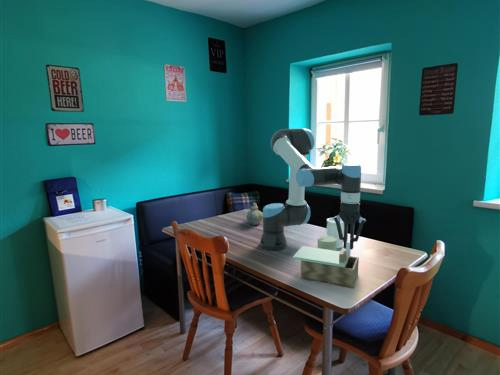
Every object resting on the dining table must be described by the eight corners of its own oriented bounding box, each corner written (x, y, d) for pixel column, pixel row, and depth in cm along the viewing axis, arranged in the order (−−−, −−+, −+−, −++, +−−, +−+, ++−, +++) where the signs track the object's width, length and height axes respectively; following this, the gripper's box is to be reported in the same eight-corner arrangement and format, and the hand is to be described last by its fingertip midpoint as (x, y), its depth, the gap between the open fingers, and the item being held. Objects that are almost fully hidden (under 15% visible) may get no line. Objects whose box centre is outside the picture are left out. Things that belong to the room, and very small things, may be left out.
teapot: (263, 228, 210) (263, 206, 208) (246, 228, 210) (245, 206, 208) (262, 219, 231) (262, 199, 229) (247, 219, 231) (246, 199, 229)
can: (314, 258, 159) (315, 235, 157) (332, 257, 160) (333, 234, 158) (320, 265, 150) (320, 241, 148) (338, 264, 151) (339, 240, 149)
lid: (292, 259, 137) (293, 248, 136) (302, 248, 150) (302, 238, 149) (344, 267, 128) (345, 256, 127) (350, 255, 140) (350, 245, 139)
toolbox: (300, 278, 137) (300, 261, 136) (309, 266, 150) (309, 250, 148) (353, 288, 128) (354, 269, 126) (358, 274, 140) (358, 257, 139)
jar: (346, 249, 169) (347, 222, 166) (326, 248, 171) (327, 222, 169) (344, 243, 179) (345, 217, 177) (325, 242, 181) (326, 216, 179)
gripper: (332, 202, 129) (330, 256, 133) (365, 205, 123) (363, 261, 128) (335, 198, 136) (334, 250, 140) (367, 201, 130) (365, 255, 134)
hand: (348, 255), depth 134 cm, fingers closed
